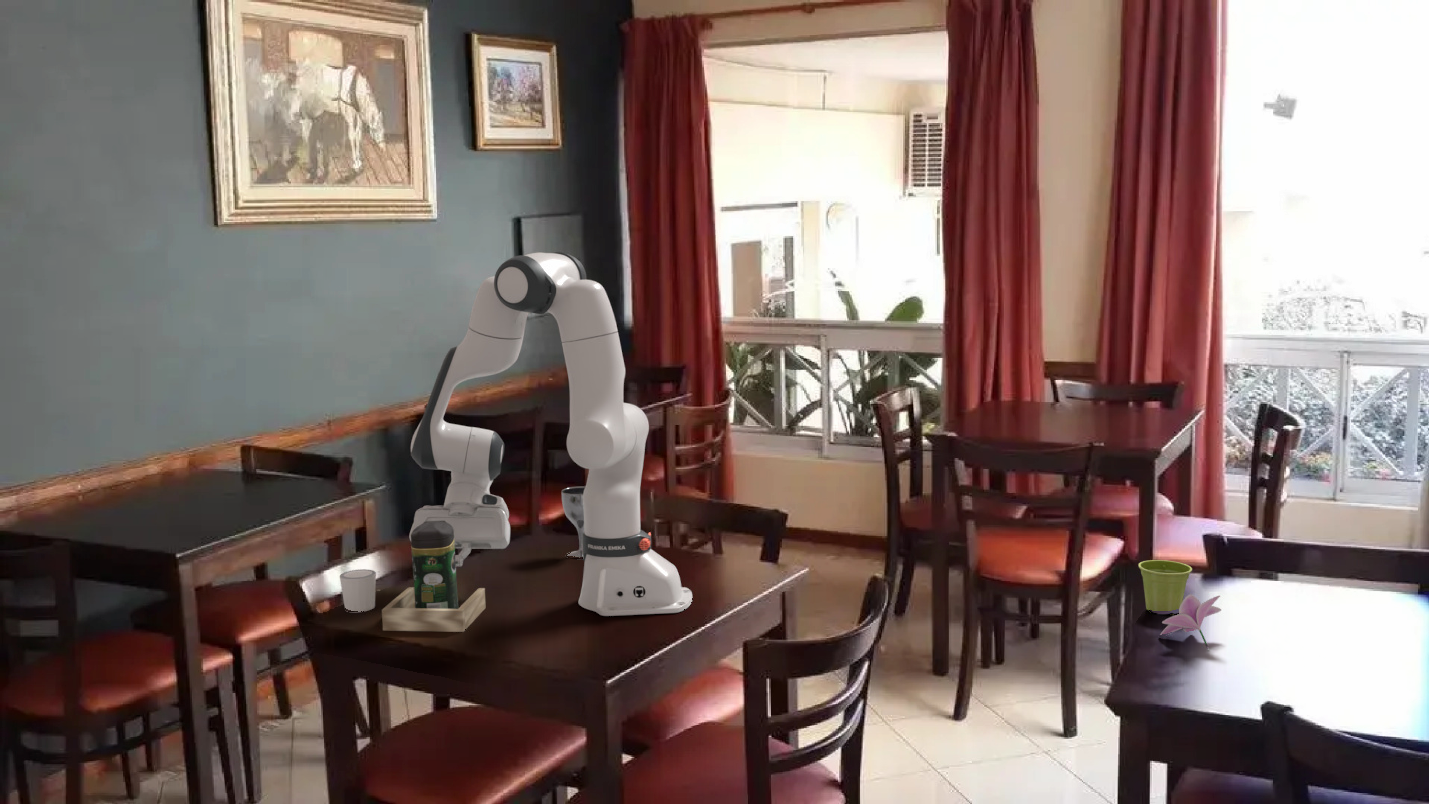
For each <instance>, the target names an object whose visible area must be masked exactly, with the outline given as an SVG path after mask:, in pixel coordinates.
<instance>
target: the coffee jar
mask: <svg viewBox="0 0 1429 804" xmlns="http://www.w3.org/2000/svg"><path fill="white" fill-rule="evenodd" d="M410 547H411V549H410V550H411V560H412V561H411V562H412V574H413V576H412V577H413V587H414V592H415V608H434V609H458V608H459V596H458V583H457V566H456V563H455V555H456V548H455V544H454V530H453V527H452V526H451V525H450V524H449V523H447V522H446V521H425V522H424V523H423V524H421V525H419V526H418V527H416V528H415V529H414V530H413V532H412V533H411V541H410Z"/></svg>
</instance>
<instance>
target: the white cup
mask: <svg viewBox="0 0 1429 804" xmlns="http://www.w3.org/2000/svg"><path fill="white" fill-rule="evenodd" d="M376 575H377V572H376V571H375V570H373V569H361V568H360V569H353V570H348V571H345V572H342V573H340V575H339V580H340V586H341V593H342V598H343V605H344V609H345V608H346V609H348V610H351V611H358V612H357V613H362V612H363V611H364V612H367V611H370V610H372V609H375V607H376V582H377V580H376V579H377V577H376ZM361 611H362V612H361ZM364 612H363V613H364Z"/></svg>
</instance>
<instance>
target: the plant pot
mask: <svg viewBox="0 0 1429 804" xmlns="http://www.w3.org/2000/svg"><path fill="white" fill-rule="evenodd" d="M1138 568H1139V569H1140V573H1141V576H1142V582H1143V590H1144V591H1143V592H1144V599H1145V600H1144V601H1145V607H1146V609H1145V610H1147V611H1149V610H1152V611H1172V610H1176V609H1179V608H1180V605H1181V604H1182V602H1183V600H1184V598H1185V597H1184V596H1185V592H1186V587H1187V582H1188V579H1189V577H1190V573H1191V572H1192V571H1193V568H1192V567H1191V566H1190V565H1188V564H1185V563H1183V562H1178V561H1173V560H1167V559H1166V560H1165V559H1164V560H1162V559H1152V560H1151V559H1150V560H1143V561H1141V562H1139V563H1138Z"/></svg>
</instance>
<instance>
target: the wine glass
mask: <svg viewBox="0 0 1429 804" xmlns="http://www.w3.org/2000/svg"><path fill="white" fill-rule="evenodd" d="M585 487H586V485H584V486H580V485H579V486H571V487H567V488H564V489H562V490H561V502H562V503H561V504H562V508H563V511H564V514H565V516H566V518H567V519H568V520H569V521H570V522H571V524H573V525H574V527H575V528H576V531H577V534H578V540H579V548H578V550H574V551H571V553H570V552H569V553H570V554H568V553H567V554H568V555H567V556H573V557H574V556H575V557H579V558H580V557H583V556H582V534H583V533H584V507H583V493H584V489H585Z"/></svg>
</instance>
